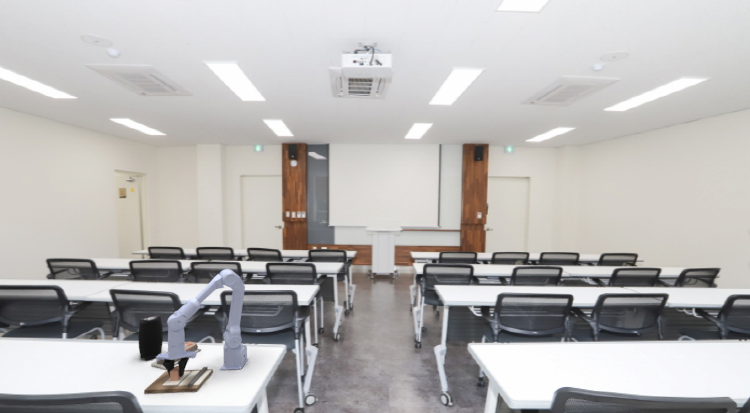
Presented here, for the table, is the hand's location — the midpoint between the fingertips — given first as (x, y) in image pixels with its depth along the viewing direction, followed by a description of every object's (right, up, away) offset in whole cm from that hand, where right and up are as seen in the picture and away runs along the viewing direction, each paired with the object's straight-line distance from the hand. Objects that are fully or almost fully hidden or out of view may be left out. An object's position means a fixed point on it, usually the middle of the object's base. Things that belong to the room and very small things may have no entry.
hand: (176, 375), depth 121 cm
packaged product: (-13, -3, +19) cm, 23 cm away
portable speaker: (-27, -3, +20) cm, 34 cm away
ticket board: (+1, -3, 0) cm, 3 cm away
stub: (0, -1, 0) cm, 1 cm away
